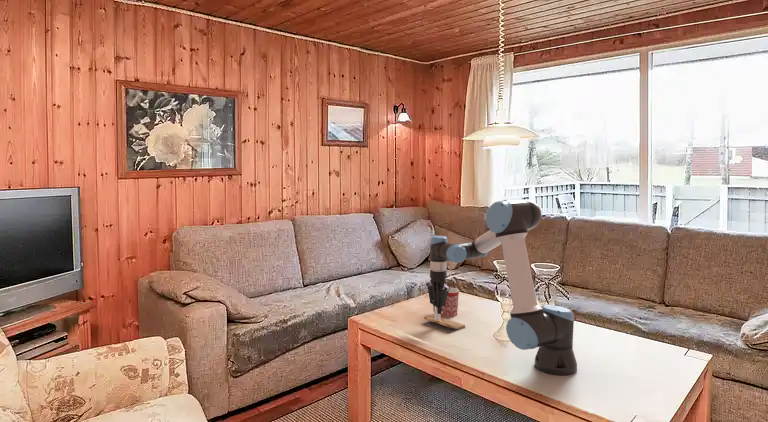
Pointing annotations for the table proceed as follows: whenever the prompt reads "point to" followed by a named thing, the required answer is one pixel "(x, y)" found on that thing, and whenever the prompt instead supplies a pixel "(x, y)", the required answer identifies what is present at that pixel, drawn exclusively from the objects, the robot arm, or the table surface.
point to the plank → (441, 323)
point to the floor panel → (445, 328)
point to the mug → (451, 303)
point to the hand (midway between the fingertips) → (437, 320)
